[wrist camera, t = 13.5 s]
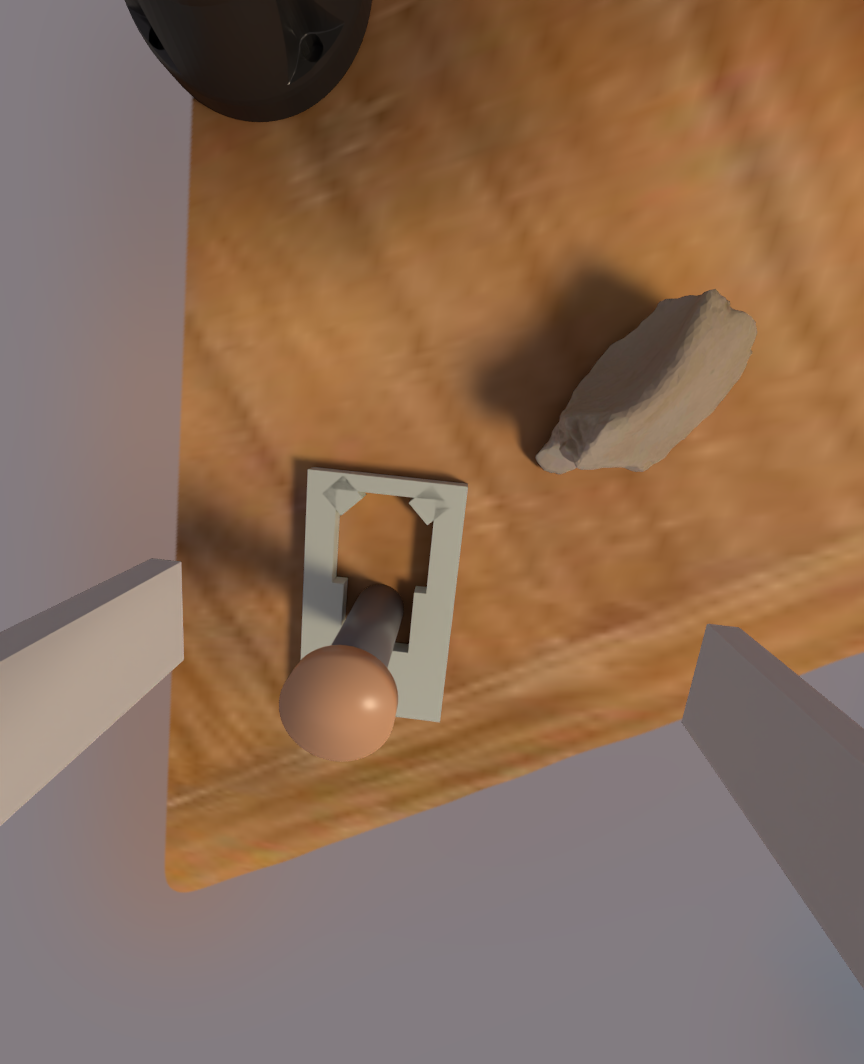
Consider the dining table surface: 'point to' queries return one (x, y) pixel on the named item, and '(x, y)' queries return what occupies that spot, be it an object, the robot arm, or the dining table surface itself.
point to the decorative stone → (652, 386)
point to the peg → (347, 683)
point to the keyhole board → (433, 605)
